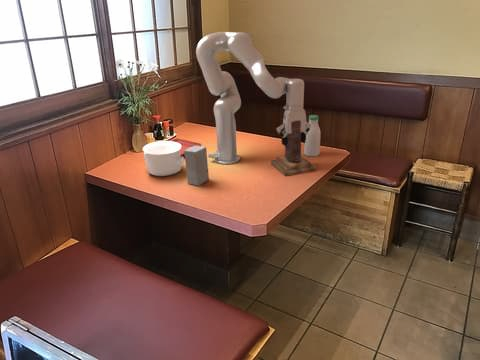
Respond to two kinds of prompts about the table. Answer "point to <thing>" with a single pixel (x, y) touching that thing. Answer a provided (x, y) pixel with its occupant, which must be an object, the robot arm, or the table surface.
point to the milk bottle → (313, 138)
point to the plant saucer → (185, 145)
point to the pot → (163, 157)
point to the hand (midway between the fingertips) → (293, 143)
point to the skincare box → (196, 165)
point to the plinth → (292, 166)
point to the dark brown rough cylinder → (293, 142)
